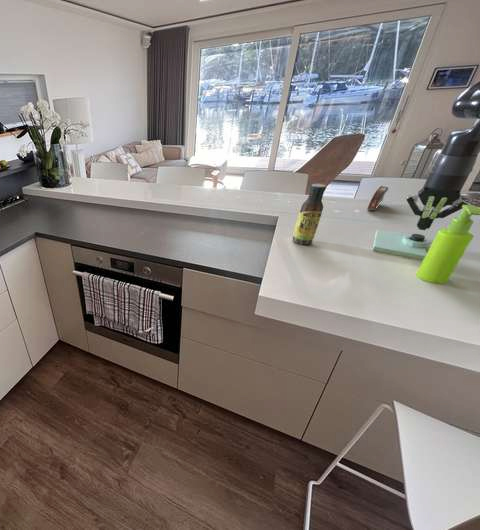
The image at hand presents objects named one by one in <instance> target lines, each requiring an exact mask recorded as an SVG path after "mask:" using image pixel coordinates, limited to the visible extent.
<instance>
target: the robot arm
mask: <svg viewBox="0 0 480 530" xmlns="http://www.w3.org/2000/svg"><path fill="white" fill-rule="evenodd" d="M450 113H451V115H452V116H453V117H454V118H457V119H465V120H467V119H468V120H469V119H470V120H478V121H477V122H476V123H475V124H474V125H473V126H472V127H469V128H462V129H456V130H452V131H451V132H450V133H449V134H448V135H447V138H446V140H445V141H444V144H443V146H442V149H441V151H440V153H439V155H438V157H436V159H435V161H434V163H433V165H432V167H431V170H430V171H429V173H428V176H427V178H426V179H425V182H424V184H423V187H421V189H419V191H417V193H415V194H413V195H408V196H406V202H407V203H408V205H409V208H410V209H411V210H412V212H413V214H414V216H419V219H418V220H417V223H416V227H417V228H418V230H419V231H426V230H427V229H428V230H429V229H430V228H431V227H432V224H433V223H434V220H436V219H444V218H447V217H448V216H450V215H452V214H454V213H457V212H459V211H460V210H463V209H464V208H463V207H462V206H463V205H468V203H467V201H466V200H463V199H462V198H461V196H462V195H461V191H462V189H463V188H464V185H465V184H466V182H467V180H468V178H469V176H470V174H471V173H472V172H473V170H474V167H475V165H476V162H477V160H478V157H479V155H480V80H479V81H476V83H474V84H472V85H470V86H468V88H466V89H464V90H463V91H462V92H461V93H460V94H459V95H458V96H457V97H456V98H455V100H454V101H453V103H452V105H451V108H450ZM418 198H419V200H420V202H421V204H422V205H423V208H422V210H421V209H420V208H419V206H418V205H417V202H418ZM451 204H452V205H451ZM449 205H451V206H449ZM447 206H449V207H447ZM445 207H447V208H445ZM443 208H445V209H443ZM442 209H443V210H442Z"/></svg>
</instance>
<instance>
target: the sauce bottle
mask: <svg viewBox="0 0 480 530" xmlns="http://www.w3.org/2000/svg"><path fill="white" fill-rule="evenodd" d="M326 190H327V185H326V184H323V183H313V184H311V186H310V191H309V194H308V196H307V198H306V200H305V201H304V202H303V203H302V204H301V207H300V210H299V212H298V216H297V219H296V223H295V227H294V230H293V233H292V239H293V240H292V239H291V240H292V242H294V241H295V242H297V243H302V244H308V245H311V244H312V242H313V240H314V239H315V235H316V233H317V229H318V226H319V223H320V221H321V218H322V215H323V210H324V204H323V201H322V200H323V196H324V193H325V192H326ZM295 242H294V243H295ZM297 243H296V244H297ZM310 243H311V244H310ZM302 244H301V245H302Z"/></svg>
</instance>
